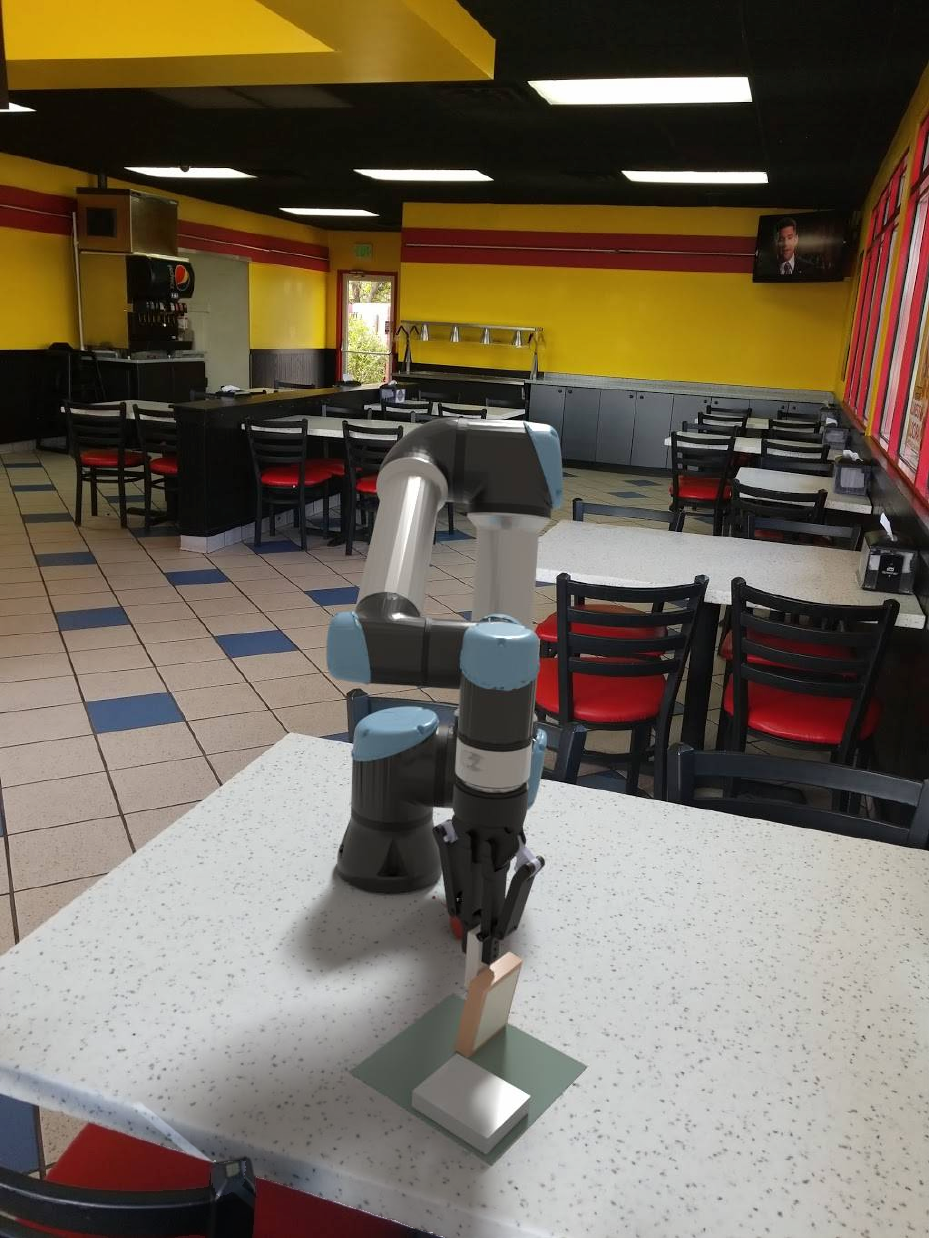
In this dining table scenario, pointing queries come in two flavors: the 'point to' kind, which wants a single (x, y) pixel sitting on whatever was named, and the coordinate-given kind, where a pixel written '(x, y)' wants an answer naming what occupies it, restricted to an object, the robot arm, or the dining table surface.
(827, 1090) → the dining table surface
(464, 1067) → the white flat block
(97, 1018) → the dining table surface
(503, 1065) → the mat
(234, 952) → the dining table surface
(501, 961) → the terracotta tile
